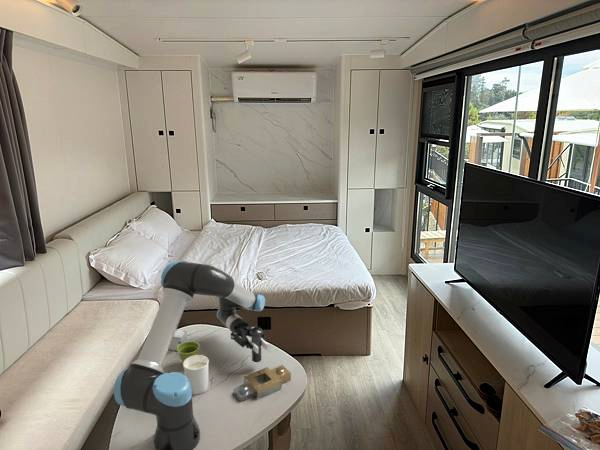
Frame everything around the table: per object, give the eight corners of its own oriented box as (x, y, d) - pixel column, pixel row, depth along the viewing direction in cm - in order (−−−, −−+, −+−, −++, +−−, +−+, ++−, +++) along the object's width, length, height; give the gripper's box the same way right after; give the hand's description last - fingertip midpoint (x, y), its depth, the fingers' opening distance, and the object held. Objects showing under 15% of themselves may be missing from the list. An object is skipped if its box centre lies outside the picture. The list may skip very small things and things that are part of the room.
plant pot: (197, 371, 179) (196, 353, 176) (175, 370, 179) (174, 353, 176) (203, 358, 188) (201, 341, 185) (182, 358, 188) (180, 341, 185)
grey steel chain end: (243, 405, 159) (243, 398, 158) (230, 389, 167) (230, 383, 166) (281, 388, 168) (281, 382, 167) (267, 374, 177) (267, 368, 176)
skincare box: (170, 349, 194) (168, 335, 192) (176, 342, 200) (175, 329, 198) (182, 351, 193) (180, 337, 191) (188, 344, 198) (187, 330, 196)
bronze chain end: (257, 399, 162) (257, 389, 161) (244, 383, 170) (243, 375, 169) (293, 382, 171) (293, 374, 170) (279, 369, 180) (279, 360, 179)
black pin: (254, 364, 176) (253, 334, 172) (248, 358, 180) (247, 329, 177) (265, 360, 179) (264, 331, 175) (259, 354, 183) (258, 326, 179)
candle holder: (180, 391, 166) (177, 365, 163) (196, 377, 174) (194, 352, 171) (199, 399, 162) (197, 372, 158) (215, 384, 170) (213, 359, 167)
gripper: (253, 327, 197) (280, 350, 179) (220, 338, 188) (244, 363, 170) (253, 313, 195) (280, 334, 177) (219, 323, 186) (244, 347, 168)
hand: (262, 348), depth 173 cm, fingers closed on black pin, 4 cm apart
